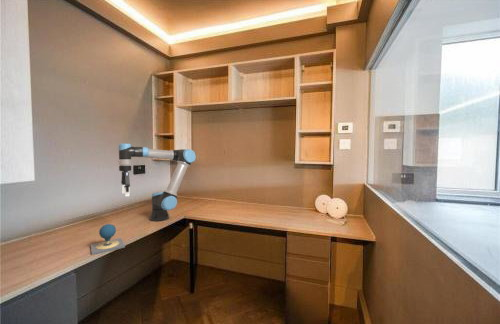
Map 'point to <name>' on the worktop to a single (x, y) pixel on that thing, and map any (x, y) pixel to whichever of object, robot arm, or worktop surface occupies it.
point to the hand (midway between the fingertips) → (125, 194)
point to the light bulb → (107, 232)
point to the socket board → (107, 246)
